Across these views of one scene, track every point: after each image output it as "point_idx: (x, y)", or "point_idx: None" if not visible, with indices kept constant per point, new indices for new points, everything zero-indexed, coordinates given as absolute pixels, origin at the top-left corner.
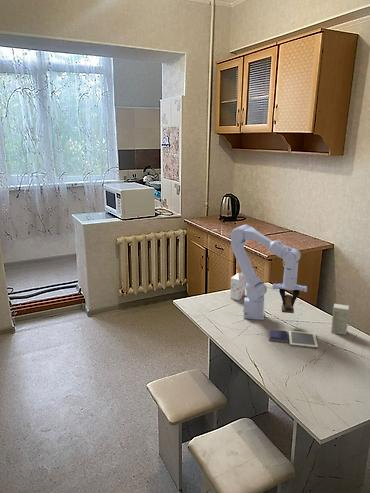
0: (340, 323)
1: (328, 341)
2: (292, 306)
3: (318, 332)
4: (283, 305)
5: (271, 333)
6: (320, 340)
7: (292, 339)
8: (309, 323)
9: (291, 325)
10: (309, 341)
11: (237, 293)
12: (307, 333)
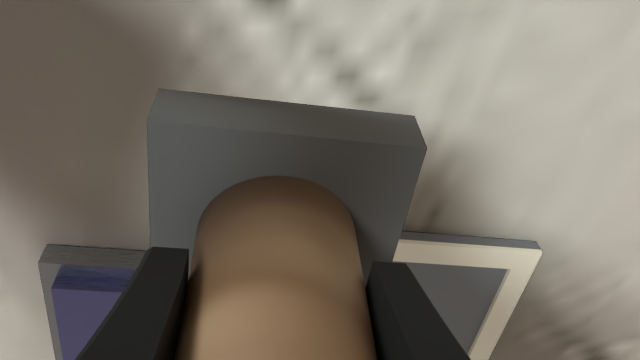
0: None
1: (597, 321)
2: (401, 176)
3: (598, 204)
4: (190, 141)
5: (74, 343)
6: (536, 316)
7: None
8: (615, 9)
9: (342, 80)
10: None
11: None
12: (461, 266)
